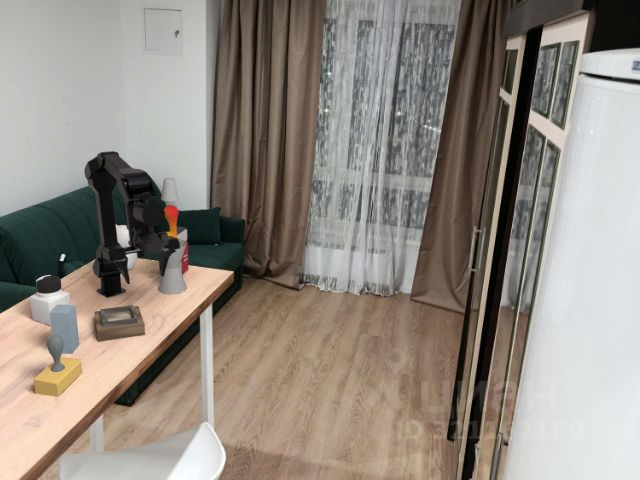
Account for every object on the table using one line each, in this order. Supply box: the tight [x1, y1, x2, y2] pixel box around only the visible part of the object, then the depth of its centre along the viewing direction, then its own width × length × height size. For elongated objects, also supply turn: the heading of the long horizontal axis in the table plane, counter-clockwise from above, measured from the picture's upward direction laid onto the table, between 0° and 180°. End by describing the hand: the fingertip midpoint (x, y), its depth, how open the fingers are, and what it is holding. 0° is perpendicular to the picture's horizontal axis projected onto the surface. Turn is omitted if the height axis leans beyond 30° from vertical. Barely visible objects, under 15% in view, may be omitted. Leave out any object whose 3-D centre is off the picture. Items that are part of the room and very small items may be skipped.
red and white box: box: [168, 226, 189, 275], centre depth 192 cm, size 11×4×15 cm, turn 168°
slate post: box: [50, 304, 80, 355], centre depth 146 cm, size 4×4×11 cm
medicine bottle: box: [29, 274, 72, 327], centre depth 161 cm, size 7×7×12 cm
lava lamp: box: [158, 177, 188, 296], centre depth 179 cm, size 9×9×35 cm
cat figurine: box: [116, 224, 138, 271], centre depth 195 cm, size 9×12×15 cm
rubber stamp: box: [33, 334, 83, 397], centre depth 132 cm, size 10×6×12 cm, turn 171°
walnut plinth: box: [93, 304, 146, 343], centre depth 159 cm, size 12×12×4 cm
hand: (145, 280), depth 155 cm, fingers open, 9 cm apart
